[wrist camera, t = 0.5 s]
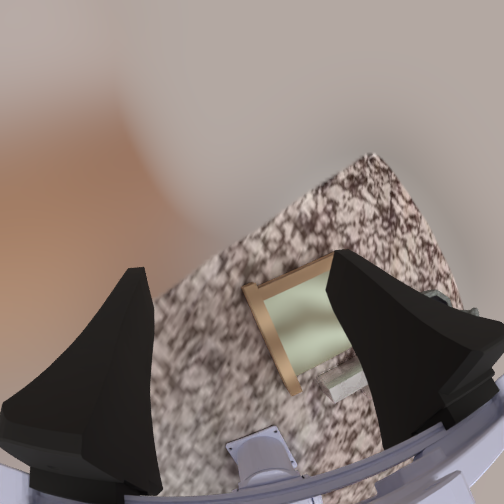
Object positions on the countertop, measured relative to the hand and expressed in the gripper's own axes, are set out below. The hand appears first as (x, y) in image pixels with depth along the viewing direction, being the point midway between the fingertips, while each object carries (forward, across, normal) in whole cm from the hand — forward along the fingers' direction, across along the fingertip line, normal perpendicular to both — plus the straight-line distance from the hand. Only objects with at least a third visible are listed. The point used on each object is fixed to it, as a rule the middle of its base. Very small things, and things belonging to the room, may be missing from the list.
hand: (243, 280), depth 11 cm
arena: (+16, -12, +21) cm, 29 cm away
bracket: (+9, -17, +29) cm, 35 cm away
